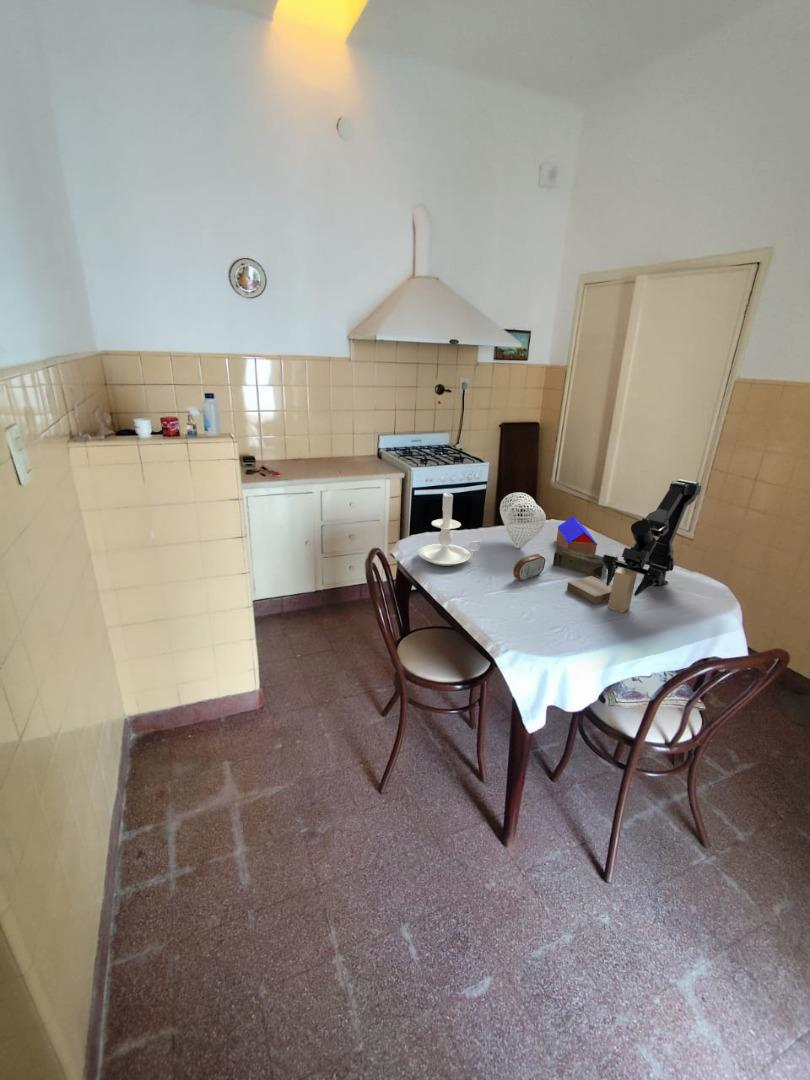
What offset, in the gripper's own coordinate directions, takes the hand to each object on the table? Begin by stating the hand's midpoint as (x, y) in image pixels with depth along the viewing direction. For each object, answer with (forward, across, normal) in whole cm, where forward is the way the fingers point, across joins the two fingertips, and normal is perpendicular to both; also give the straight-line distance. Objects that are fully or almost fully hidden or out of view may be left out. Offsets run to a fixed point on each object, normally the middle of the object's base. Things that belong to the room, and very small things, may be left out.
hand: (620, 590), depth 159 cm
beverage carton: (-9, -24, +19) cm, 32 cm away
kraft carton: (+4, 0, +6) cm, 7 cm away
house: (-21, -35, +31) cm, 52 cm away
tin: (+6, -33, +4) cm, 33 cm away
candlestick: (+14, -62, -4) cm, 64 cm away
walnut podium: (+2, -11, +8) cm, 13 cm away
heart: (-9, -52, +19) cm, 56 cm away
